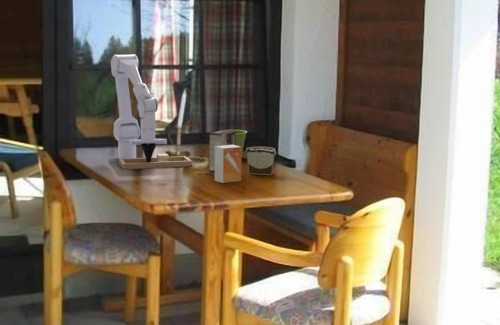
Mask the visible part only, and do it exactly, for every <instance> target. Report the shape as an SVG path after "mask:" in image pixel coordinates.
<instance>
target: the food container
mask: <svg viewBox="0 0 500 325" xmlns="http://www.w3.org/2000/svg"><path fill="white" fill-rule="evenodd" d="M244 153H245V154H246V160H247V169H248V170H247V172H248V174H250V175H261V176H263V175H265V176H273V172H274V164H275V156H276V155H277V151H276V149H275V148H274V147H271V146H250V147H246V149H245V151H244Z"/></svg>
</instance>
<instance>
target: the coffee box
mask: <svg viewBox="0 0 500 325" xmlns="http://www.w3.org/2000/svg"><path fill="white" fill-rule="evenodd" d="M227 130H228V129H223V130H218V131H213V132H209V135H208V136H209V174H210V175H215V146H223V145H236V139H235V132H234V131H227Z"/></svg>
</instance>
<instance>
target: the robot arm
mask: <svg viewBox="0 0 500 325" xmlns="http://www.w3.org/2000/svg"><path fill="white" fill-rule="evenodd" d="M110 69H111V75H112V76H113V77H114V79H115V80H114V81H115V87H116V95H117V96H116V97H117V105H118V113H119V114H118V115H119V117H118V118H117V119H116V120H115V121H114V123H113V137H114V138H115V140H116V141H118V142H117V143H118V144H117V146H118V147H117V149H118V153H117V156H118V160H119V159H128V158H137V146H140V147H141V150H142V151H143V154H144V158H146V162H151V158H152V157H153V154H154V152H155V149H156V148H157V147H156V146H157V145H168V141H167V140H168V139H167V138H156V112H157V111H158V107H159V104H158V103H159V102H158V100H157V98H156V97H154V96H153V95H151V92H150V90H149V88H148V86H147V84H146V83H144V82H143V81H142V77H141V76H140V72H139V70H138V69H139V58H138V56H137V55H136V54H113V56H112V57H111V60H110ZM129 80H130V82H131V83H132V85H133V86H132V87H133V88H132V91H133V94H134V96H135V98H136V101H137V111H138V116H139V118H140V124H139V122H138V120H137V118H135V117H134V116H133V115H132V107H131V106H132V104H131V96H130V95H131V94H130V89H129V88H130V87H129ZM139 125H140V126H139Z"/></svg>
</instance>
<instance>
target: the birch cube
mask: <svg viewBox="0 0 500 325" xmlns="http://www.w3.org/2000/svg"><path fill="white" fill-rule="evenodd" d="M156 157H157V162H169V157H170V155H169V154H168V153H157V154H156Z"/></svg>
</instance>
